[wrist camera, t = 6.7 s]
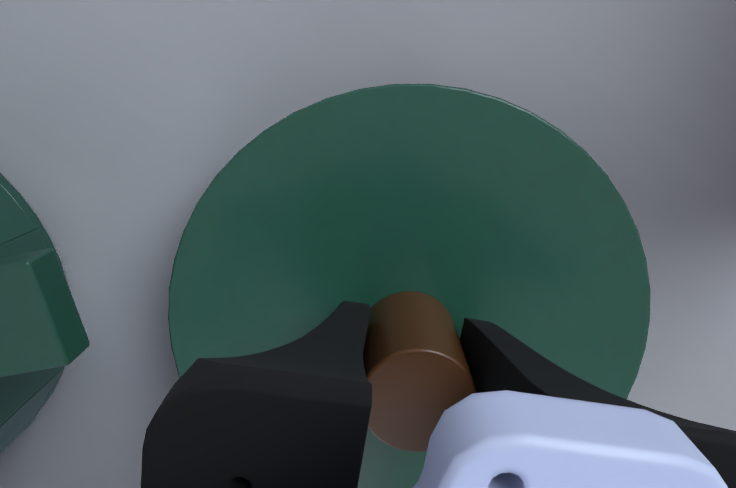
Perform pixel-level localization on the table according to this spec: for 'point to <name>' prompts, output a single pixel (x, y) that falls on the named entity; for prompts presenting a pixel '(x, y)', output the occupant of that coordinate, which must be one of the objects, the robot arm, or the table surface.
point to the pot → (31, 316)
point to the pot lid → (414, 252)
